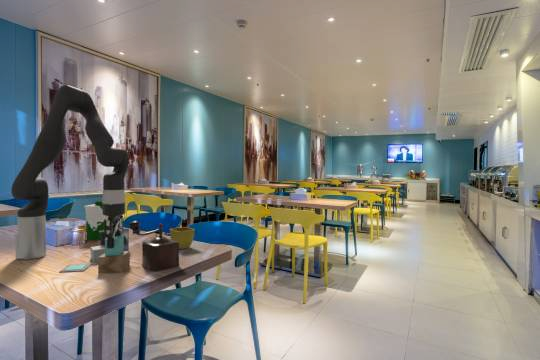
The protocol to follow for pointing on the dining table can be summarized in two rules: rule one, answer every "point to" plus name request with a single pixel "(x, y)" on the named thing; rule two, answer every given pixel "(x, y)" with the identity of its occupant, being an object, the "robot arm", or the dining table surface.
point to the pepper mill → (157, 250)
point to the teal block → (115, 246)
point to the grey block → (97, 252)
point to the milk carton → (94, 221)
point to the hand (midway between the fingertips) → (114, 245)
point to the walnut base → (114, 263)
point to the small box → (125, 239)
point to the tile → (75, 268)
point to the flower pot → (182, 236)
